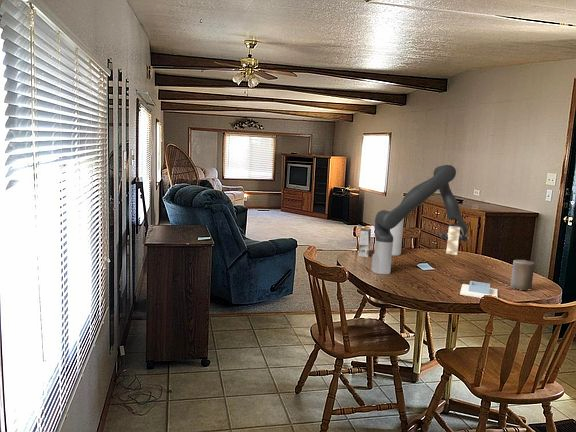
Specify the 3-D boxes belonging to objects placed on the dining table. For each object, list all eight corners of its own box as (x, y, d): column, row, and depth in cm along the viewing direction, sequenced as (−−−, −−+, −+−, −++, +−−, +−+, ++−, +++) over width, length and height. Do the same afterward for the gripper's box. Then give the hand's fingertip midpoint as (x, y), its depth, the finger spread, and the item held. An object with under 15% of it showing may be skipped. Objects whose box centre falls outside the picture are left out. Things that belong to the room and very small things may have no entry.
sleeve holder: (460, 294, 223) (460, 285, 223) (462, 286, 238) (463, 277, 237) (497, 300, 217) (498, 291, 217) (497, 291, 232) (498, 283, 231)
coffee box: (368, 257, 291) (370, 231, 289) (358, 256, 292) (360, 230, 290) (369, 254, 300) (371, 229, 298) (358, 253, 301) (360, 228, 299)
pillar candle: (535, 291, 236) (539, 261, 234) (516, 290, 235) (520, 261, 233) (524, 286, 245) (527, 257, 243) (506, 285, 244) (509, 256, 243)
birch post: (446, 253, 234) (448, 227, 232) (446, 251, 238) (449, 226, 236) (456, 255, 232) (459, 228, 230) (457, 253, 236) (460, 227, 234)
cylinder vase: (396, 251, 312) (399, 213, 309) (403, 256, 300) (407, 216, 297) (377, 251, 310) (381, 213, 306) (384, 255, 298) (388, 216, 294)
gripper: (441, 225, 249) (438, 229, 233) (471, 228, 244) (469, 233, 228) (440, 239, 250) (437, 245, 235) (469, 242, 245) (468, 248, 229)
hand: (453, 239), depth 231 cm, fingers closed on birch post, 5 cm apart
